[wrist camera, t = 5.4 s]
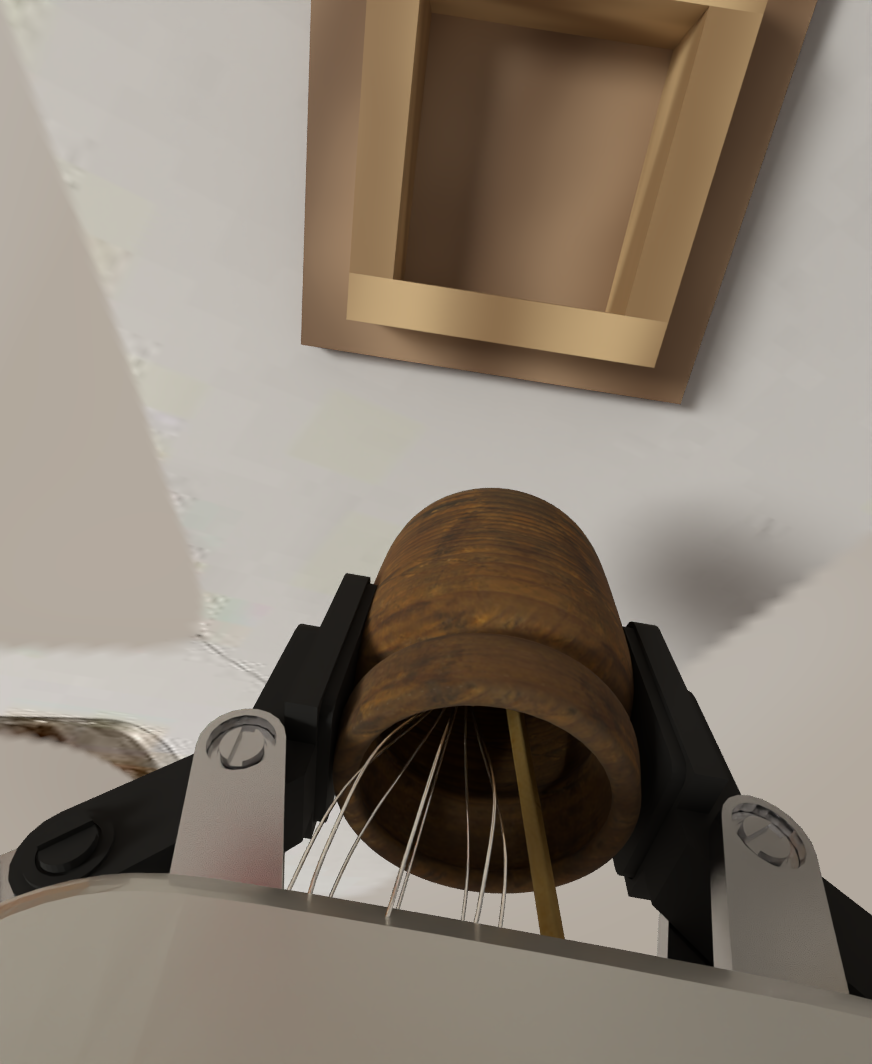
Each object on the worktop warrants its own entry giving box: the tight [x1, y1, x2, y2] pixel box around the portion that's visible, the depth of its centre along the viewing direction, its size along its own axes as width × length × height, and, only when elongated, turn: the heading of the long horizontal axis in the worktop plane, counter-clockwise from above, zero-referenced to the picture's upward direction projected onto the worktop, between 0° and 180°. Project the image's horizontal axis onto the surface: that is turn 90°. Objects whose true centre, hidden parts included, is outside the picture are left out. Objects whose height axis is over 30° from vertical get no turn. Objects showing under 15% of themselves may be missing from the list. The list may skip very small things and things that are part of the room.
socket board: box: [301, 0, 817, 404], centre depth 18 cm, size 16×14×4 cm
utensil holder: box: [287, 488, 641, 939], centre depth 9 cm, size 6×6×12 cm
